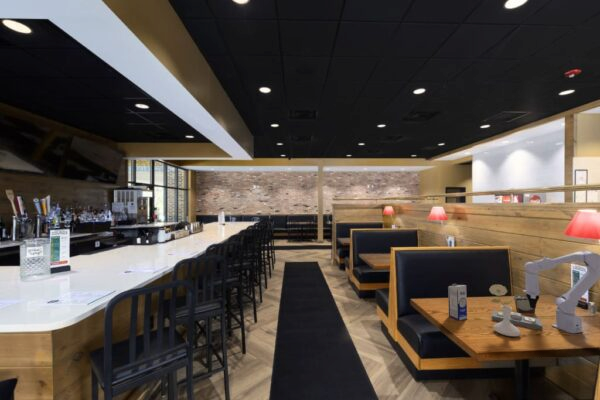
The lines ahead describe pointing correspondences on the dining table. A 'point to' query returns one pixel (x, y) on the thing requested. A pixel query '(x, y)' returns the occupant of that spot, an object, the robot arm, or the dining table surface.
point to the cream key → (529, 319)
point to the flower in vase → (505, 325)
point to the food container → (523, 305)
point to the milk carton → (457, 302)
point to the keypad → (519, 321)
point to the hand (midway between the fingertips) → (532, 307)
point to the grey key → (516, 315)
